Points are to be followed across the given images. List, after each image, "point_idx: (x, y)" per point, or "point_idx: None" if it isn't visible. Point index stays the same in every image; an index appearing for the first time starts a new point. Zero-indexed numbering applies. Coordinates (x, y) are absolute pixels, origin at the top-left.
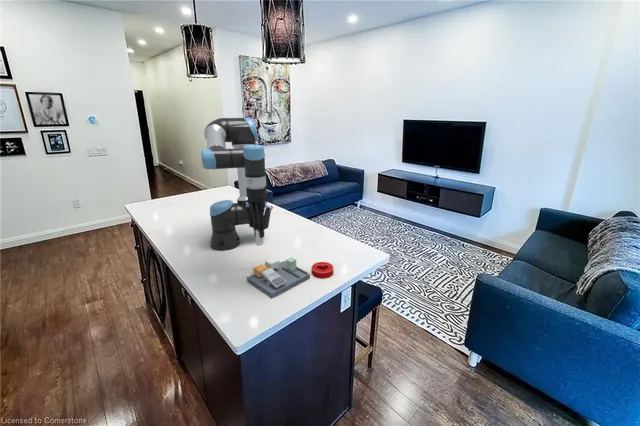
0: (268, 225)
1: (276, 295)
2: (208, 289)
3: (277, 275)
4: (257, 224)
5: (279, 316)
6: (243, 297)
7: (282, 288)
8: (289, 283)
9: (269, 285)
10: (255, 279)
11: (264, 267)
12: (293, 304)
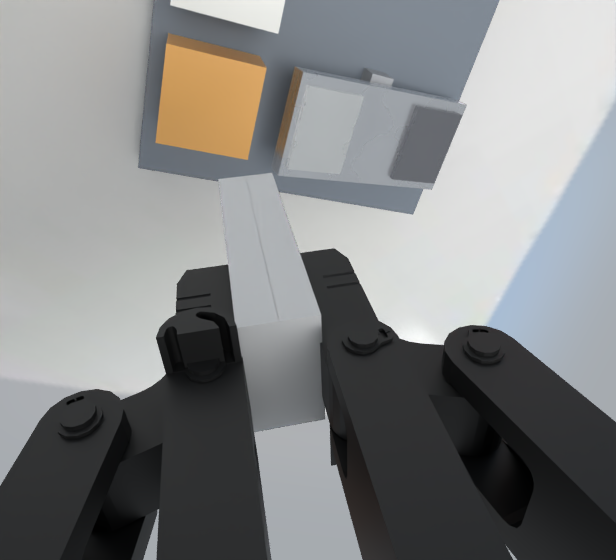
0: (543, 365)
1: None
2: (33, 334)
3: (394, 107)
4: (218, 429)
5: (498, 274)
6: None
7: None
8: (462, 64)
9: None
10: (218, 157)
11: (235, 82)
12: (528, 179)
